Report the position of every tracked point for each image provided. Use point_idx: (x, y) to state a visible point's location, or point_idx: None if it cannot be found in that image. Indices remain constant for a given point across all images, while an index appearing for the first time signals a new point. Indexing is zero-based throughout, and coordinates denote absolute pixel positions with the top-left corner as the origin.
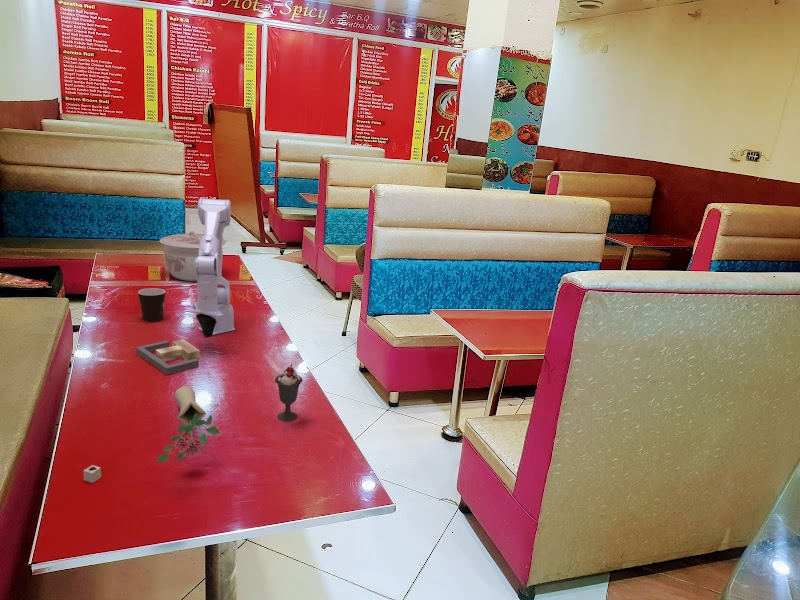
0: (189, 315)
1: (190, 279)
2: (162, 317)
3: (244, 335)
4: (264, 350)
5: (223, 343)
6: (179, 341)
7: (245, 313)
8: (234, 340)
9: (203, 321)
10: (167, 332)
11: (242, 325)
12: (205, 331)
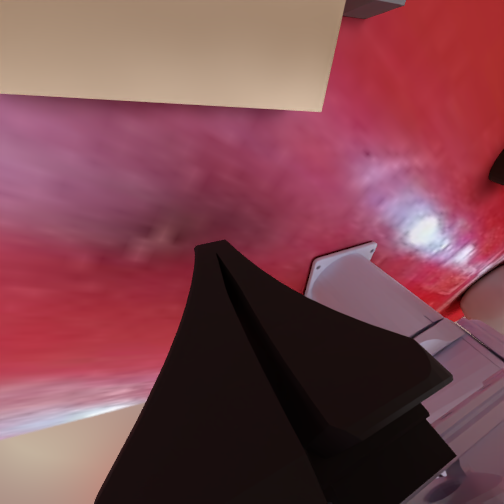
0: (434, 244)
1: (489, 279)
2: (498, 177)
3: None
4: (104, 373)
5: None
6: (306, 48)
7: None
8: None
9: (153, 449)
10: (442, 139)
11: None
12: (193, 279)
